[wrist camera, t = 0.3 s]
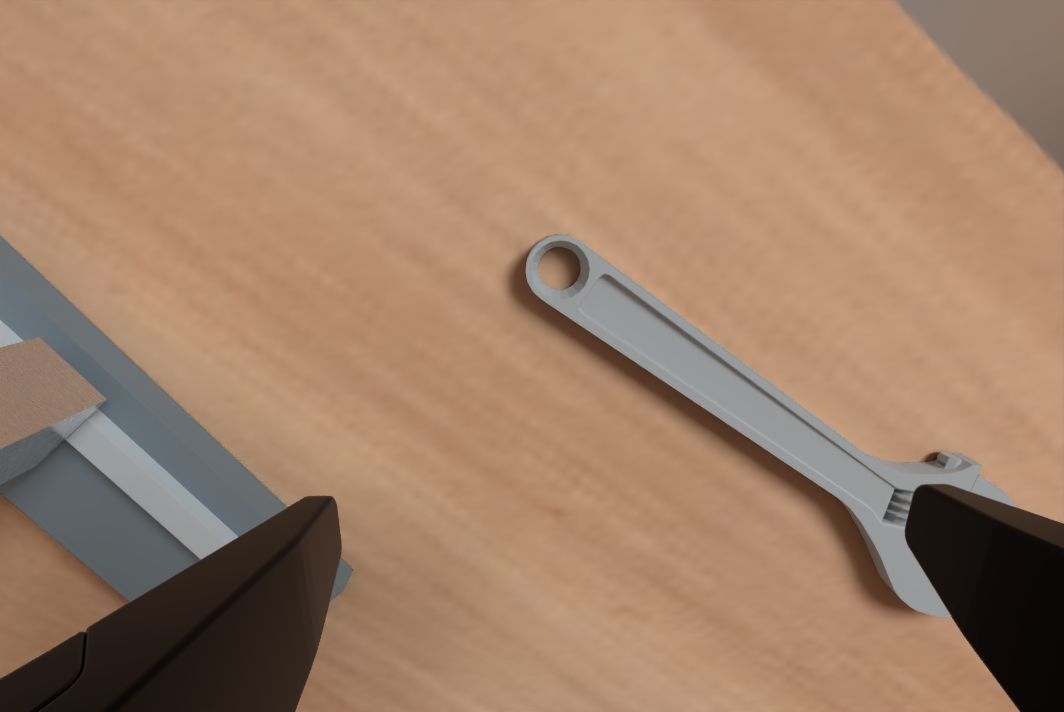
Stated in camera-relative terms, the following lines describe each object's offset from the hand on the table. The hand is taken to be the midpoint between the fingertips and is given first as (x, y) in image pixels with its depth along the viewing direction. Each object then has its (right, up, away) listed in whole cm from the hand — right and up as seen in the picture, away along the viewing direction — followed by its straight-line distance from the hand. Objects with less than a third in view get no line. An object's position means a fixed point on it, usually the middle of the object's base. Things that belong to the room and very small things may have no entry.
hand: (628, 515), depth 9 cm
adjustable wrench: (+9, 0, +16) cm, 19 cm away
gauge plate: (-19, -2, +15) cm, 24 cm away
